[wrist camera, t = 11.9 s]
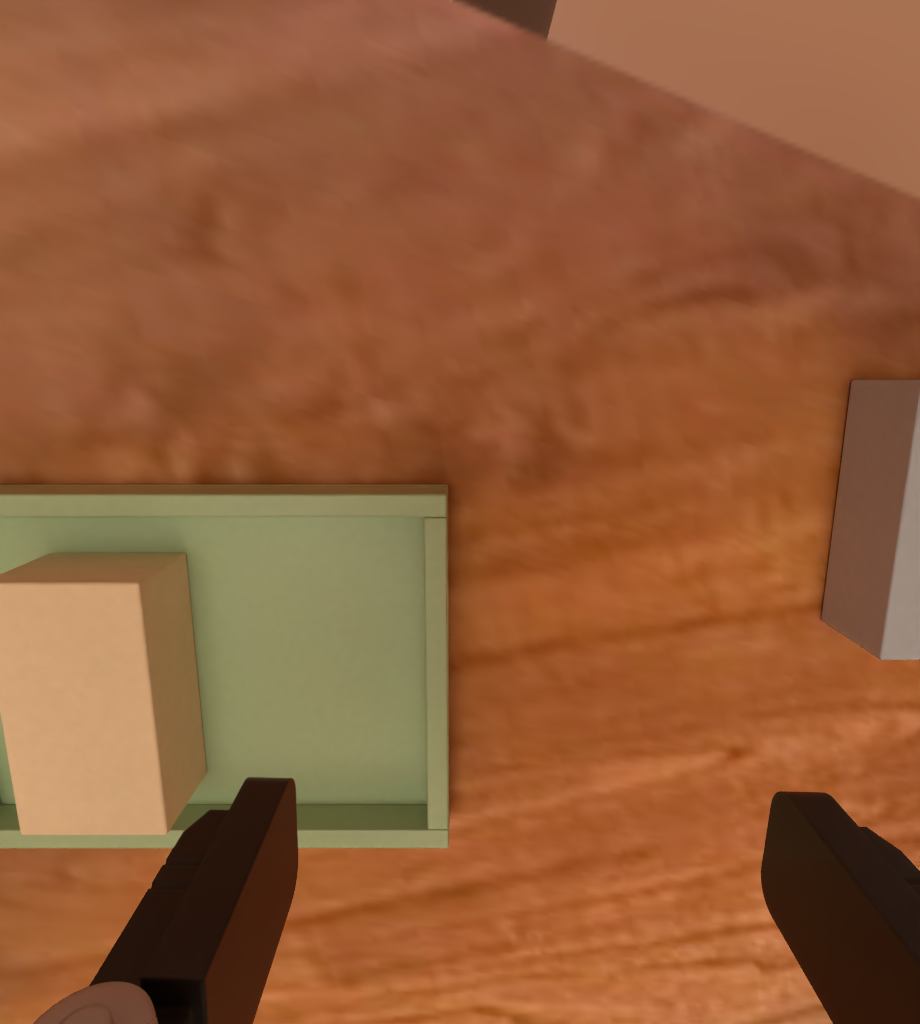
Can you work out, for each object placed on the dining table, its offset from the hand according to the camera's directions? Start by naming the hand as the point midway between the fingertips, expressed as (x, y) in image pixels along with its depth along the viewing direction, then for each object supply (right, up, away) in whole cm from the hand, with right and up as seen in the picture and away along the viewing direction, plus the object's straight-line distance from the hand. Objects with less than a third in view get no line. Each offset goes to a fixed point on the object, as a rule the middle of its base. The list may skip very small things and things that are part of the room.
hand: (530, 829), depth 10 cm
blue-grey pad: (+15, +6, +13) cm, 20 cm away
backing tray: (-11, 0, +14) cm, 18 cm away
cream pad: (-14, -1, +13) cm, 19 cm away
